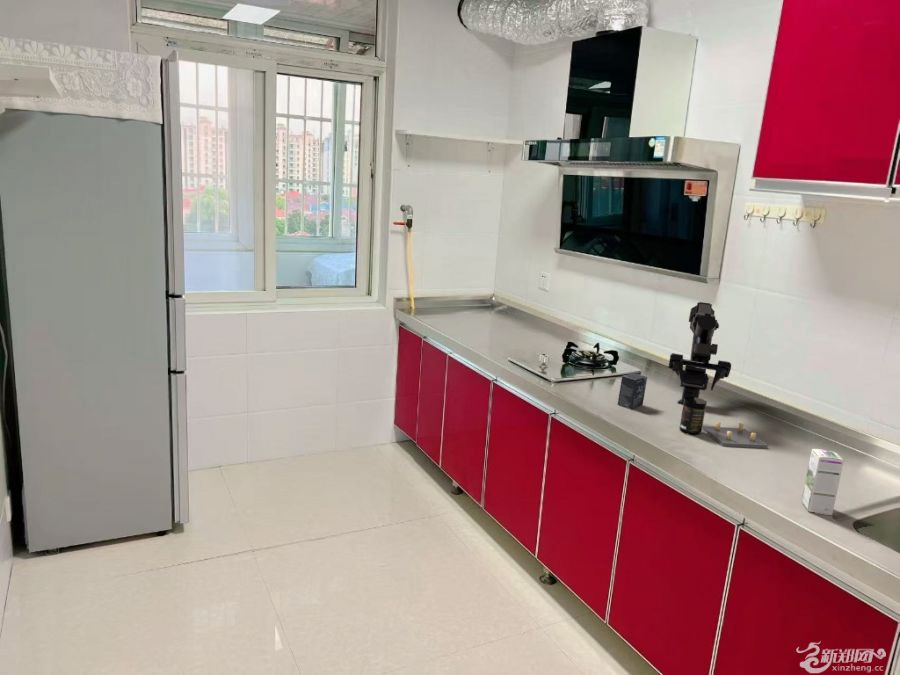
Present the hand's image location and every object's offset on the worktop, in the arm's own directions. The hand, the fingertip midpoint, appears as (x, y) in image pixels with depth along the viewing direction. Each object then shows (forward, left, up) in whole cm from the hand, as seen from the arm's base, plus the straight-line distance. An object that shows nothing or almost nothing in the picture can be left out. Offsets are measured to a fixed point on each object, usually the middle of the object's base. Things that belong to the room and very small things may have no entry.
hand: (696, 387), depth 220 cm
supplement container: (+6, +2, -13) cm, 15 cm away
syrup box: (+37, +43, -13) cm, 58 cm away
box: (-4, -22, -13) cm, 26 cm away
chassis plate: (+1, +14, -13) cm, 19 cm away
